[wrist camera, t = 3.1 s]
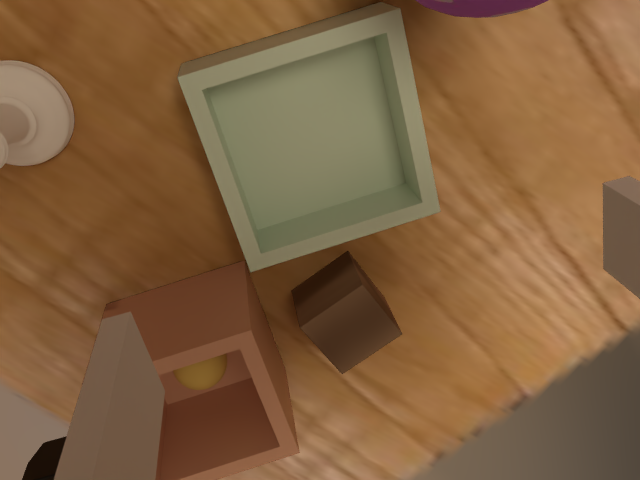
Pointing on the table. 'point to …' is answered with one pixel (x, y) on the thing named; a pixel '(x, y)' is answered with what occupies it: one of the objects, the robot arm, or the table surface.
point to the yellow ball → (202, 373)
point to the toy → (480, 7)
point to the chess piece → (32, 115)
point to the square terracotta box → (234, 387)
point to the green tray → (314, 134)
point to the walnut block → (344, 313)
